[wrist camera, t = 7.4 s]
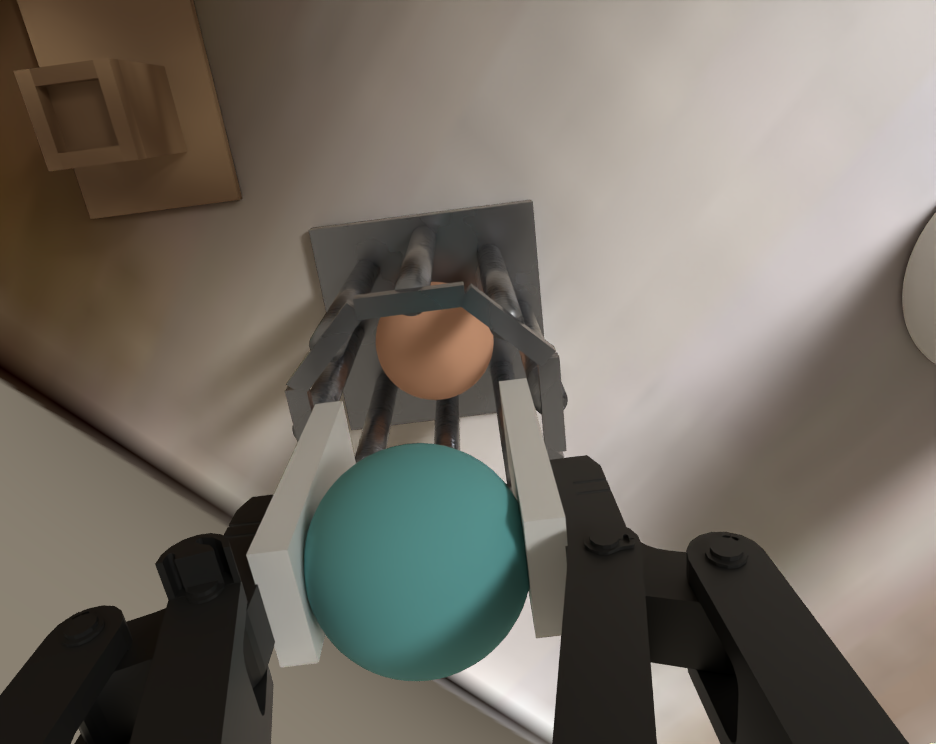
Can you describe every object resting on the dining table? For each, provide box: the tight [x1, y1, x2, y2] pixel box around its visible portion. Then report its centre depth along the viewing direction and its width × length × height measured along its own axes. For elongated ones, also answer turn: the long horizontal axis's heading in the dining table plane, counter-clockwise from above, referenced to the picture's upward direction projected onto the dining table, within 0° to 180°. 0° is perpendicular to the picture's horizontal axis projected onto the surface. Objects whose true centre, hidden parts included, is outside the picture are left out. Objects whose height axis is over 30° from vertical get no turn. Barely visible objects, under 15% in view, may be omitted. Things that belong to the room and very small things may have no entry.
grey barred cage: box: [285, 200, 568, 493], centre depth 24 cm, size 9×9×10 cm
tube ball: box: [376, 282, 494, 400], centre depth 26 cm, size 5×5×5 cm
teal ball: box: [304, 443, 529, 681], centre depth 13 cm, size 5×5×5 cm
